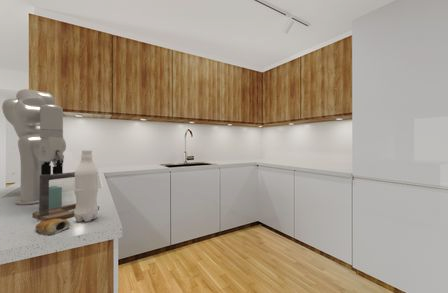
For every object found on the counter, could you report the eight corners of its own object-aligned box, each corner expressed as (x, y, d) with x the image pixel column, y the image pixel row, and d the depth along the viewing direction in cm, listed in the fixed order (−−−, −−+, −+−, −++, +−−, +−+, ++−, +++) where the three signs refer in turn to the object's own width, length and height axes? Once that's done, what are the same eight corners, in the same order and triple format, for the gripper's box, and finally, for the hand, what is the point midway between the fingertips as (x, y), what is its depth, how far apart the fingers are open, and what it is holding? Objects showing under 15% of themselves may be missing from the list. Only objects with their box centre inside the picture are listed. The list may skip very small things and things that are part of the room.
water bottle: (86, 224, 70) (86, 151, 70) (68, 222, 72) (69, 150, 72) (102, 217, 78) (103, 150, 77) (86, 215, 79) (86, 150, 79)
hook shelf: (32, 216, 77) (32, 173, 77) (81, 205, 92) (81, 169, 92) (49, 223, 71) (49, 176, 71) (98, 209, 86) (99, 171, 86)
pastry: (27, 233, 64) (28, 220, 64) (51, 225, 70) (51, 214, 70) (51, 236, 61) (51, 223, 61) (72, 228, 68) (72, 216, 68)
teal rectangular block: (40, 209, 86) (40, 188, 86) (54, 206, 90) (54, 186, 90) (47, 211, 83) (47, 189, 83) (61, 208, 88) (61, 187, 88)
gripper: (30, 135, 87) (31, 175, 87) (50, 133, 79) (51, 177, 79) (52, 136, 94) (52, 173, 94) (72, 134, 86) (72, 175, 86)
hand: (51, 175), depth 87 cm, fingers open, 9 cm apart
